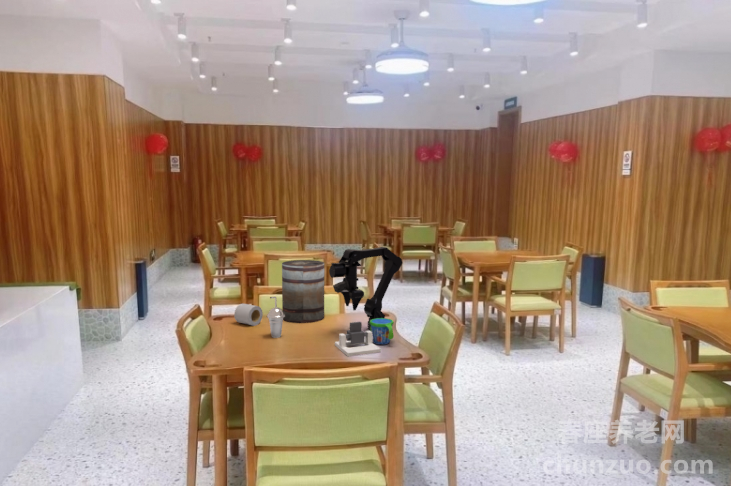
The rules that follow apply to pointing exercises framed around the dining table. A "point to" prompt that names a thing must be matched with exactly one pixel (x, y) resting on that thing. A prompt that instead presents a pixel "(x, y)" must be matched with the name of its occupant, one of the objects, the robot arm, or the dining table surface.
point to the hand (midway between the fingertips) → (350, 308)
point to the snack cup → (381, 330)
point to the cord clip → (356, 333)
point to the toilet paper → (248, 314)
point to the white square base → (360, 350)
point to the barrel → (303, 291)
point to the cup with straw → (276, 320)
